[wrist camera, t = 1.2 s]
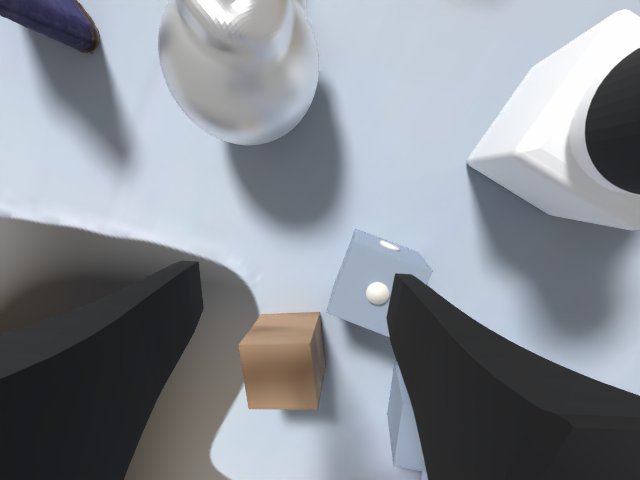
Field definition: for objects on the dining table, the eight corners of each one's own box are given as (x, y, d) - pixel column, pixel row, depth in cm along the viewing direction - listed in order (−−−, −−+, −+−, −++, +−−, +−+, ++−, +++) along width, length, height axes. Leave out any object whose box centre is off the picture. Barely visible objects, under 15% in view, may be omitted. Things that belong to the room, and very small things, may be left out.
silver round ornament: (359, 92, 21) (357, 18, 11) (258, 175, 23) (184, 171, 14) (281, -20, 20) (208, -200, 11) (184, 76, 23) (50, -2, 13)
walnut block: (325, 366, 26) (317, 409, 21) (269, 367, 27) (248, 408, 22) (320, 311, 25) (310, 343, 20) (261, 313, 26) (238, 344, 21)
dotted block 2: (447, 422, 25) (469, 482, 20) (387, 412, 26) (393, 469, 21) (457, 369, 24) (483, 419, 19) (394, 360, 25) (403, 406, 20)
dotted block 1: (392, 308, 24) (400, 342, 19) (333, 286, 24) (325, 314, 19) (418, 249, 23) (435, 268, 18) (356, 226, 23) (354, 239, 18)
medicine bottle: (549, 216, 21) (782, 262, 9) (462, 163, 21) (587, 142, 10) (626, 123, 19) (1024, 38, 8) (531, 65, 20) (785, -106, 8)
